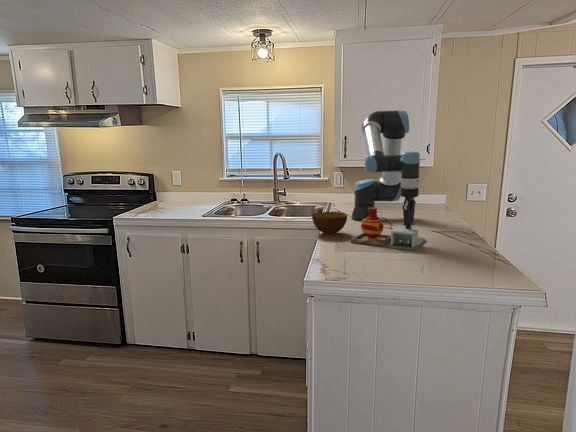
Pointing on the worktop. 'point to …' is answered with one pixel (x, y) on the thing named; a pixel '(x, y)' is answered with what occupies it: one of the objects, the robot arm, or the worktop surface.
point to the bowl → (329, 222)
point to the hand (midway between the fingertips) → (408, 239)
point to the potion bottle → (372, 225)
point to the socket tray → (380, 241)
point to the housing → (404, 236)
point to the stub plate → (405, 247)
